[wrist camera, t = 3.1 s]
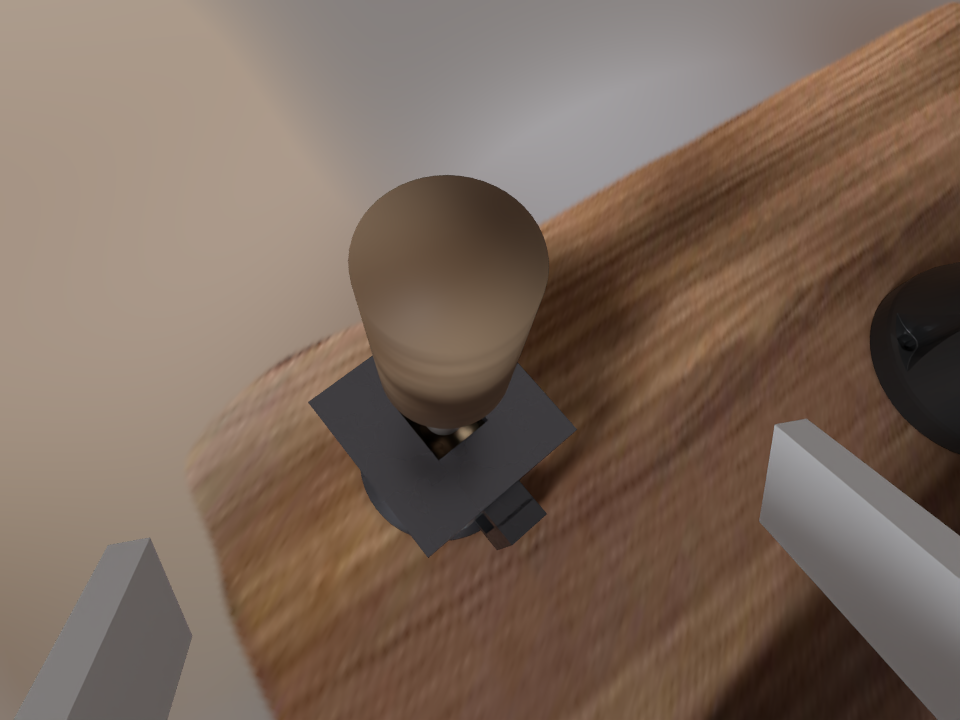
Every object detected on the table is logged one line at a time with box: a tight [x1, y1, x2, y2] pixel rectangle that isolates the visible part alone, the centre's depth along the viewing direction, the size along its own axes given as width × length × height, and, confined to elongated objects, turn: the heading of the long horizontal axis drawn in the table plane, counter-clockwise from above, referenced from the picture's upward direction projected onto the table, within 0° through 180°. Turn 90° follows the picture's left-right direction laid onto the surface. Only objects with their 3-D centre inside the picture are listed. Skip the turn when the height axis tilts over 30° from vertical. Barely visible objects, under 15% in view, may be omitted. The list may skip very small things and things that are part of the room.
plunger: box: [348, 175, 549, 435], centre depth 22 cm, size 5×5×16 cm
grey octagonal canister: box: [308, 356, 577, 558], centre depth 35 cm, size 12×11×12 cm
